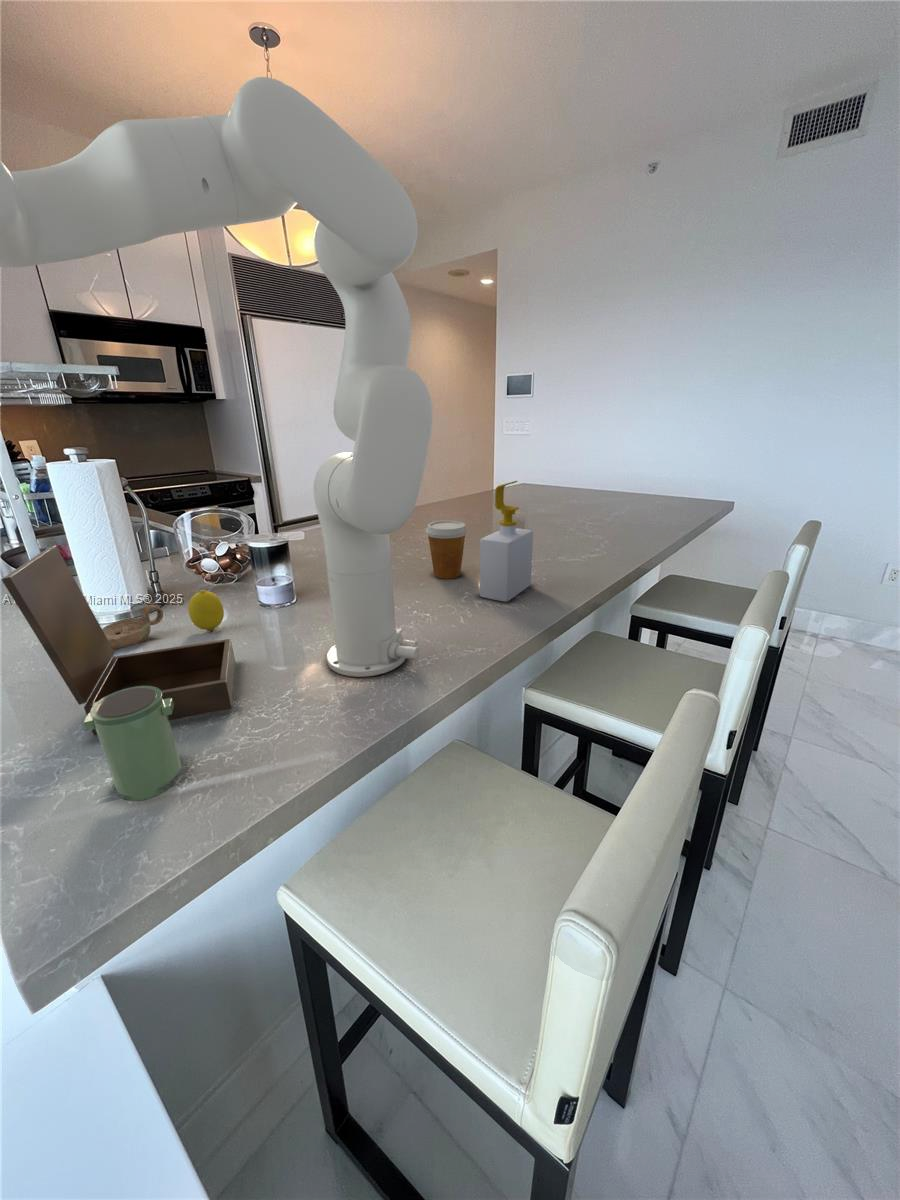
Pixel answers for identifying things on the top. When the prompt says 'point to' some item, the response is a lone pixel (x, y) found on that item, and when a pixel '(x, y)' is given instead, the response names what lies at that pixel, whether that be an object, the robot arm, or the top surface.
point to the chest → (175, 677)
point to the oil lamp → (131, 629)
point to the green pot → (136, 740)
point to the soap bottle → (505, 556)
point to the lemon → (206, 610)
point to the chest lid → (61, 620)
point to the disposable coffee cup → (446, 547)
